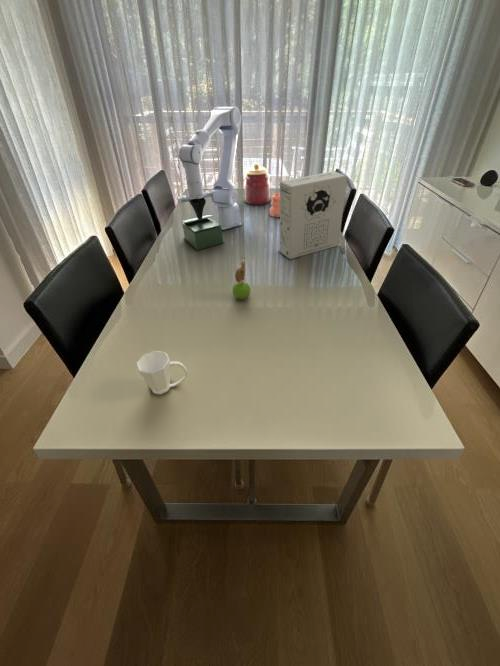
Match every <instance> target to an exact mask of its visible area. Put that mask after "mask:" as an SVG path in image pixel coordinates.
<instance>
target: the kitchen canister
mask: <svg viewBox="0 0 500 666" xmlns="http://www.w3.org/2000/svg"><path fill="white" fill-rule="evenodd" d="M244 172H245V175H244V176H243V180H244V183H243V185H244V186H243V187H244V200H245V202H246V204H248V205H254V206H255V205H256V206H257V205H264V204H268V203H269V202H270V201H271V182H270V178H271V174H269V173H268V172H269V169H268V168H266V167H265V166H260V164H259V163H257V162H256V163H254V164H253V166H251V167H248V168H247V169H246V170H245V171H244Z"/></svg>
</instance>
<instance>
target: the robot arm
mask: <svg viewBox="0 0 500 666" xmlns="http://www.w3.org/2000/svg"><path fill="white" fill-rule="evenodd" d="M241 123H242V114H241V112H240V109H239V107H238V106H236V105H235V106H218V105H217V106H214V107H213V109H212V110H210V118H208V121H207V122H206V124H205V125H204V127H203V128H202V129H196V130H195V132H194V134H193V136H192V137H191V138H190V139H189V140H188V142H187V143H186V144H182V146H180V148H179V151H178V158H179V161H180V162H181V164H182V168H183V170H184V174H185V180H186V187H187V194H184V195H180V196H177V197H176V198H177V203H178V204H183V203H187V202H189V203H190V206H191V207H192V209H193V211H194V213H195V216H196V218H198V219H202V216H203V215H204V209H205V205H206V202H207V199H205V198H210V200H211V202H212V203H213V204H214V206H215V208H216V218H217V223H219V224H220V225H221V230H222V231H224V230H228V229H231V228H235V227H239V226H242V223H241V213H240V212H241V211H240V207H239V205H238V203H237V196H238V195H237V186H236V185H235V184H234V183H233V174H234V167H235V159H236V152H237V144H238V138H239V134H240V131H241ZM217 131H218V132H219V133H221V134H222V135H223V145H222V153H221V161H220V166H219V167H220V168H219V175H218V180H216V181H215V182H214V183H213V184H212V185H213V186H212V189H208V190H204V184H203V177H202V170H201V162H202V160H203V156H204V154H205V153H204V152H205V150H206V149H207V148H208V146H209V145H210V144H211V137H212V136H213V135H214V134H215V133H216V132H217Z"/></svg>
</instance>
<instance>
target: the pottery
mask: <svg viewBox="0 0 500 666" xmlns="http://www.w3.org/2000/svg"><path fill="white" fill-rule="evenodd" d="M270 204H271V207H270V208H269V215H270V217H273V218H280V191H279V192H278V191H276V192H275V193H274V194H273V195H272V196H271V202H270Z"/></svg>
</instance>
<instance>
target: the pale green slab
mask: <svg viewBox="0 0 500 666" xmlns="http://www.w3.org/2000/svg"><path fill="white" fill-rule="evenodd" d="M212 217H214V215H213V214H212V215H211V214H206V215H202V219H204V218H212ZM196 220H200V219H198V218H197V217H193V218H190V219H189V218H188V219H184V220H182V221H181V222H182V223H188V222H192V221H196Z"/></svg>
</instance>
